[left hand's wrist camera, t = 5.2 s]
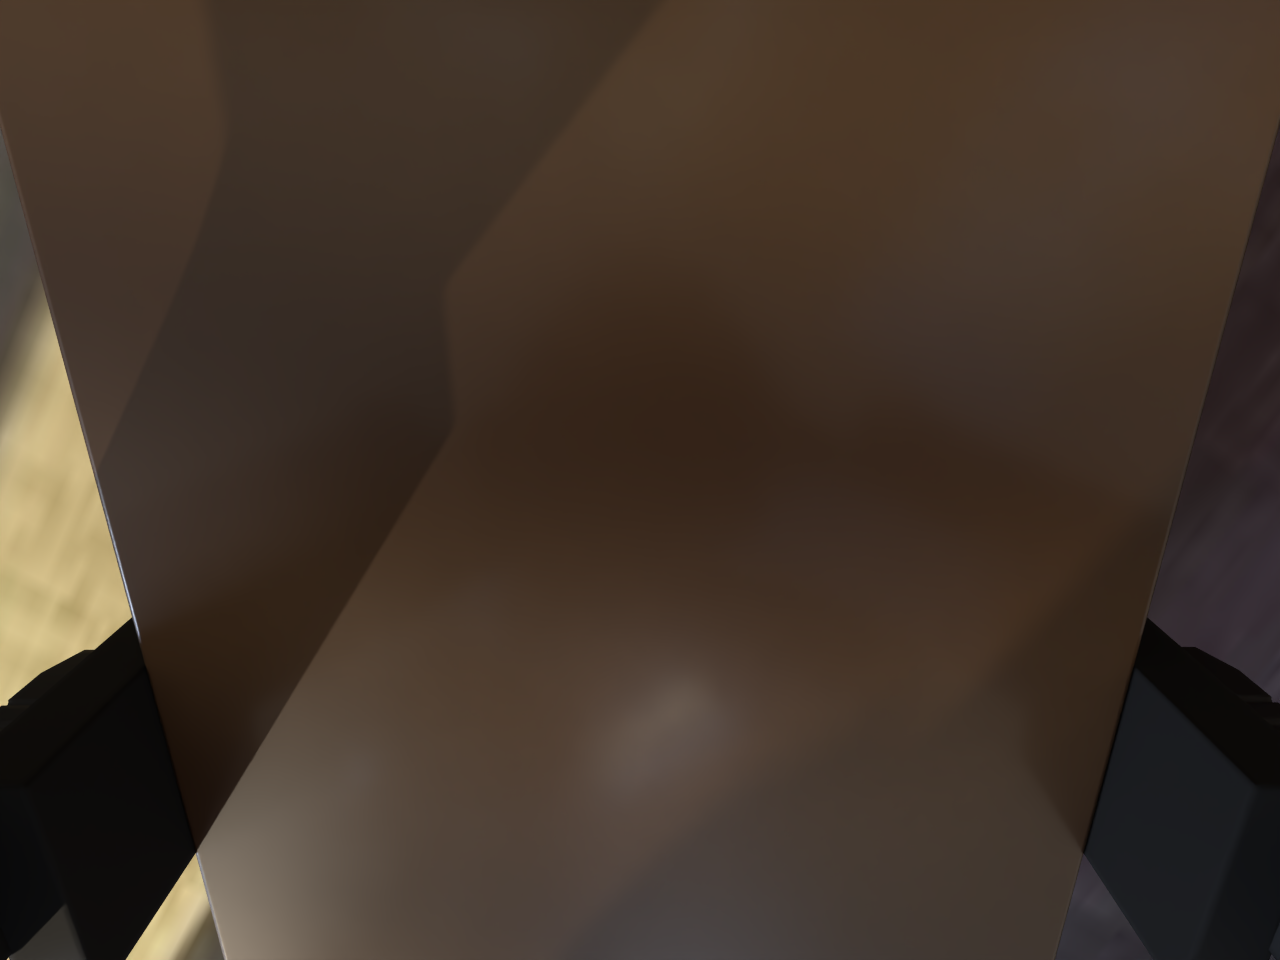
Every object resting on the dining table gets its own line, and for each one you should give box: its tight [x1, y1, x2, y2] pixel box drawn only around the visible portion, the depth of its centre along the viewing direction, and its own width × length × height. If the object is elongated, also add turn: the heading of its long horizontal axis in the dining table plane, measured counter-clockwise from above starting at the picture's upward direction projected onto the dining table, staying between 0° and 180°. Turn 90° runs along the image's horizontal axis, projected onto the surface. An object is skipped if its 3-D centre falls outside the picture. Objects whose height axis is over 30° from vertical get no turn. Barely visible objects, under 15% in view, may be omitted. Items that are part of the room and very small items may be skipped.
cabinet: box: [0, 0, 1280, 960], centre depth 11 cm, size 18×11×8 cm, turn 0°
